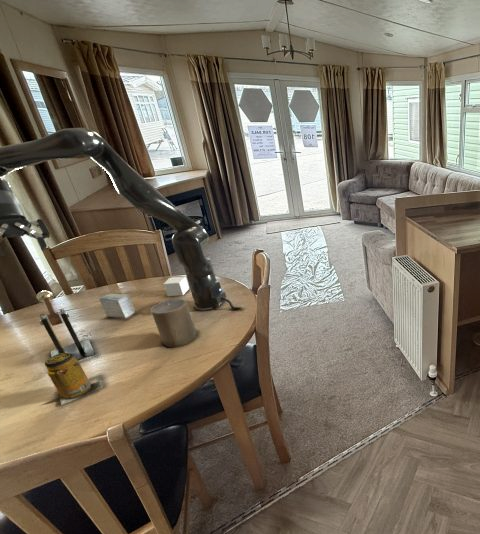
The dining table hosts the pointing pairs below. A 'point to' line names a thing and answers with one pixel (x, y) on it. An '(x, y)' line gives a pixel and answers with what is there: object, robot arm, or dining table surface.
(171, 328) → the pillar candle
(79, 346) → the bracket
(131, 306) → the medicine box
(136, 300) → the dining table surface
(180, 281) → the white cube
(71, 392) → the condiment
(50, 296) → the lever
